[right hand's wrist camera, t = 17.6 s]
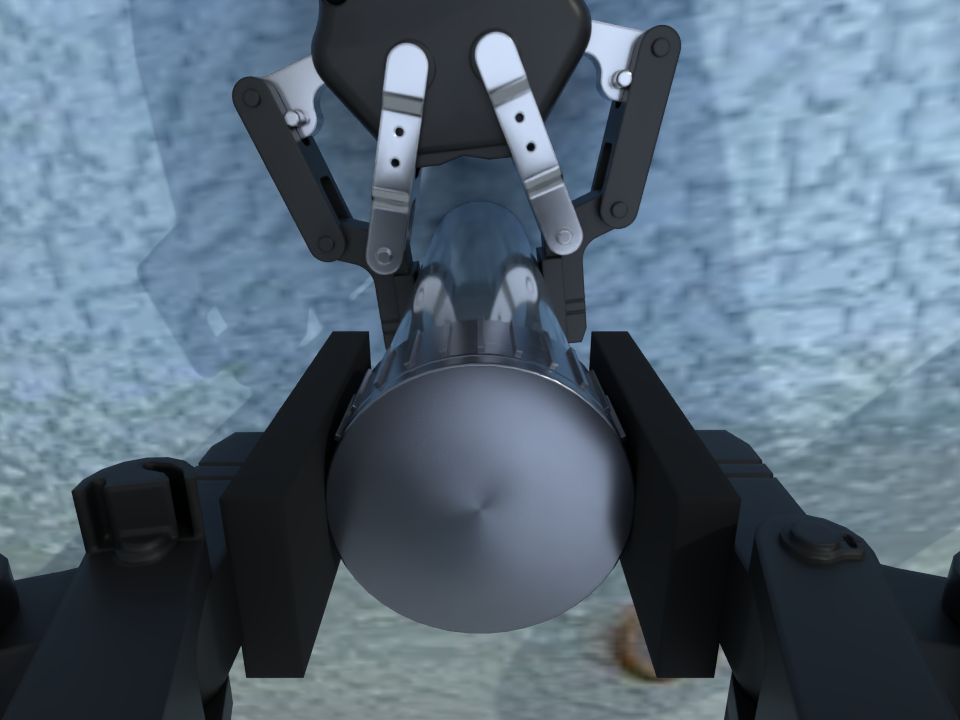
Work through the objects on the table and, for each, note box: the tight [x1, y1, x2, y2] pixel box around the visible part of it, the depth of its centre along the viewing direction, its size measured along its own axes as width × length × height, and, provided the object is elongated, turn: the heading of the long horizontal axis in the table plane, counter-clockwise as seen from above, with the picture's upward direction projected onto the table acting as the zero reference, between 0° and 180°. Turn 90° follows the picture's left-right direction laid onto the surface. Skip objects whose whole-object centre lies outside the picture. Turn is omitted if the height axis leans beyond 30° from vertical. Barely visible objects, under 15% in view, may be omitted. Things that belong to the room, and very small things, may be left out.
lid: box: [325, 316, 636, 633], centre depth 11 cm, size 5×5×2 cm
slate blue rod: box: [390, 201, 570, 350], centre depth 20 cm, size 4×4×20 cm
